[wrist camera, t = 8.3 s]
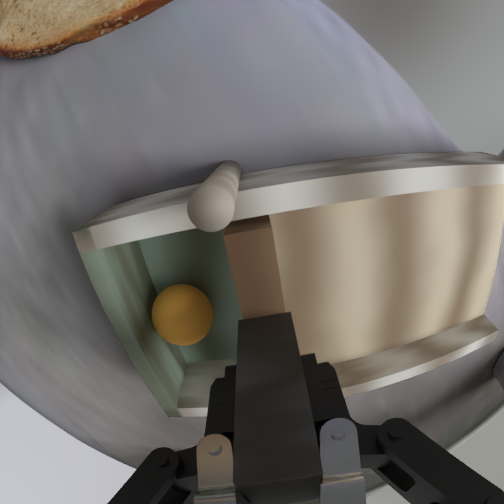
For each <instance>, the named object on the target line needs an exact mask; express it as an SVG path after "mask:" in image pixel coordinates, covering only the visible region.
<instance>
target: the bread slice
mask: <svg viewBox="0 0 504 504" xmlns="http://www.w3.org/2000/svg"><path fill="white" fill-rule="evenodd" d="M171 1H173V0H0V56H3V57H11V58H14V59H21V58H32V57H36V56H44V55H47V54H55V53H57V52H59V51H61V50H63V49H65V48H67V47H69V46H71V45H73V44H76V43H84V42H88V41H91V40H93V39H95V38H97V37H100V36H102V35H105V34H108V33H110V32H112V31H114V30H116V29H119V28H121V27H123V26H125V25H127V24H130V23H132V22H134V21H137V20H139V19H141V18H143V17H144V16H146V15H148V14H150V13H152V12H153V11H155V10H157V9H159V8H160V7H162V6H164V5H166V4H167V3H169V2H171Z"/></svg>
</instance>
